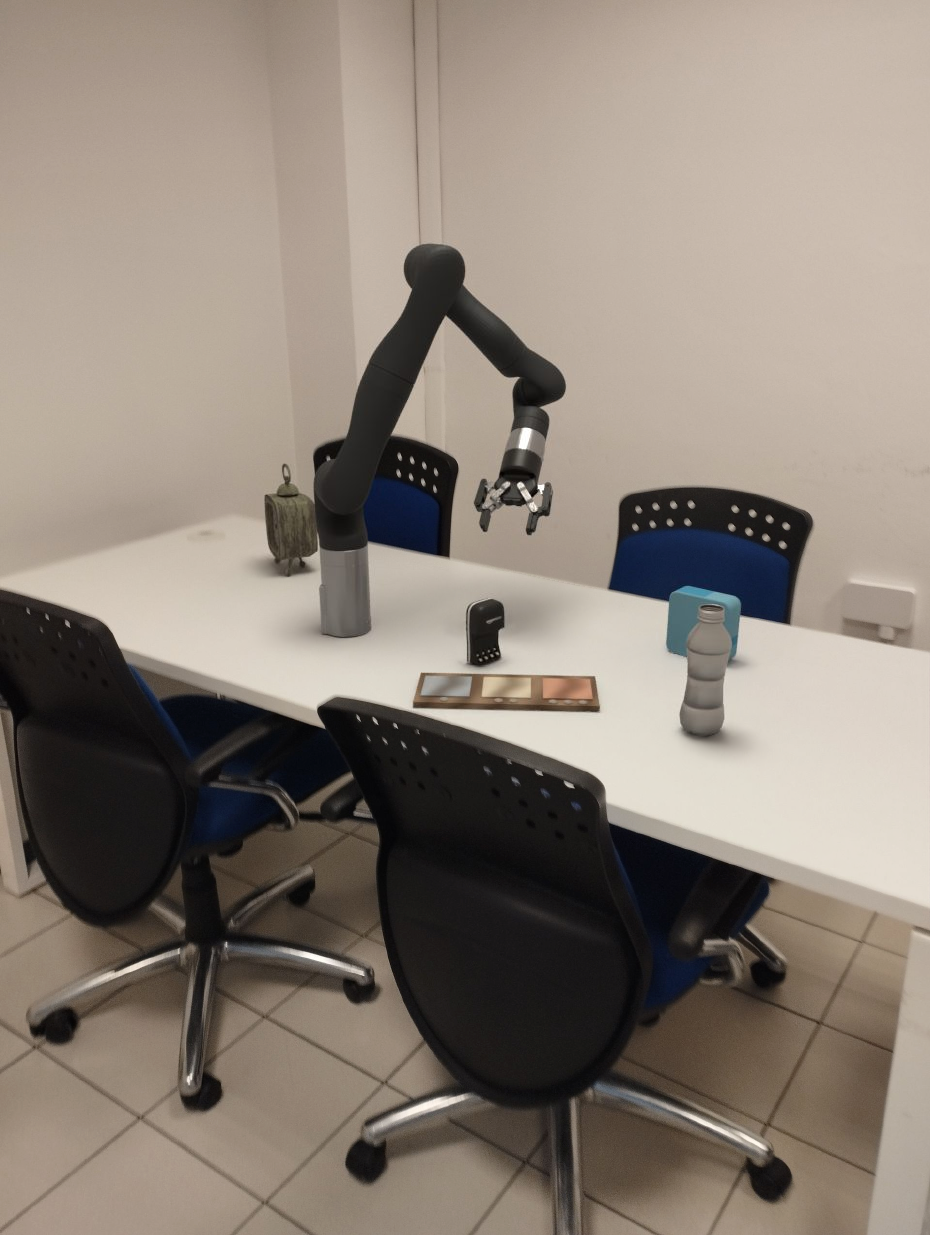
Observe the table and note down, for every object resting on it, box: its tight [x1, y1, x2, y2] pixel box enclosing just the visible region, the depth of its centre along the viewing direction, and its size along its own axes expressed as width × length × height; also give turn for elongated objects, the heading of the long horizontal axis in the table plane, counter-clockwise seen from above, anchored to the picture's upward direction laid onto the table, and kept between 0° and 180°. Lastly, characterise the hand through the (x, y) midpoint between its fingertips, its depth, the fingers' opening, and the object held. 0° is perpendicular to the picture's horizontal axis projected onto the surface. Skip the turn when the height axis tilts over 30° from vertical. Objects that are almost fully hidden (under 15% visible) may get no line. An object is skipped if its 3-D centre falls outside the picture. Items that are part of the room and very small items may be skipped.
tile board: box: [412, 672, 601, 713], centre depth 160 cm, size 30×12×1 cm, turn 86°
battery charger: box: [465, 597, 506, 667], centre depth 172 cm, size 7×4×11 cm, turn 133°
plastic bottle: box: [679, 604, 732, 736], centre depth 144 cm, size 6×7×20 cm
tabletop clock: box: [264, 463, 319, 577], centre depth 224 cm, size 14×9×25 cm, turn 23°
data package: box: [665, 585, 742, 661], centre depth 174 cm, size 12×4×12 cm, turn 49°
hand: (506, 531), depth 177 cm, fingers open, 8 cm apart
